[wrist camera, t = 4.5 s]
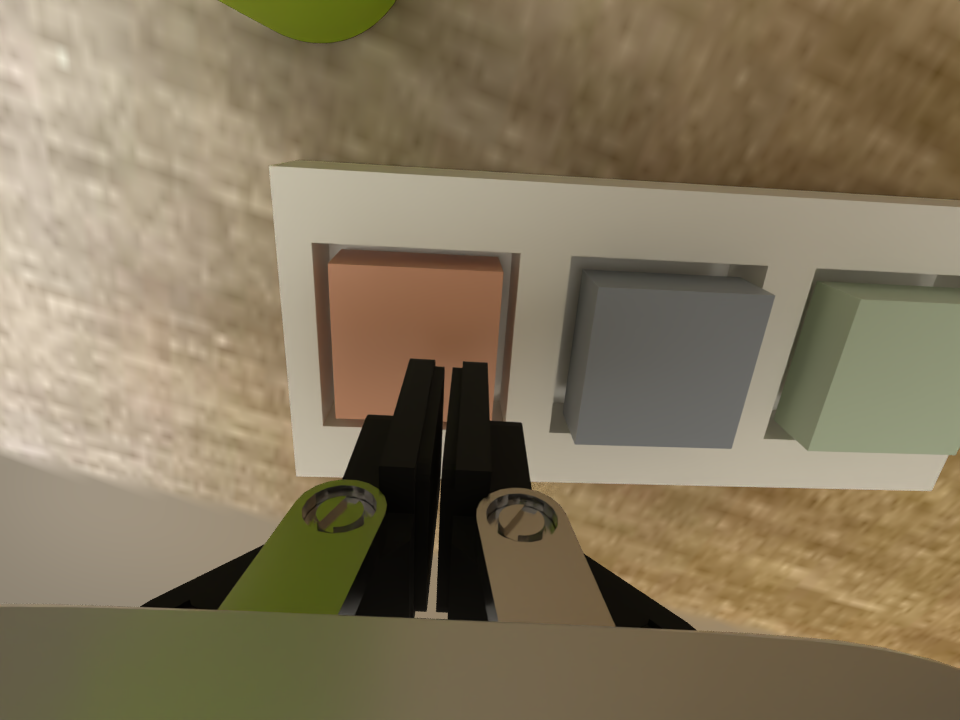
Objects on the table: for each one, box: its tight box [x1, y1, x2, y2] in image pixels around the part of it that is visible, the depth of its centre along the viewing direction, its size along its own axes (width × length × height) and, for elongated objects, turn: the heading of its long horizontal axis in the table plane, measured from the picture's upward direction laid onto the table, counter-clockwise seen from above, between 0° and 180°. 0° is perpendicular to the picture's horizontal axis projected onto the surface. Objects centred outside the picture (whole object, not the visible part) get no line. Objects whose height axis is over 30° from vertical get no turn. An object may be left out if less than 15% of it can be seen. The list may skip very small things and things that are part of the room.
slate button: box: [563, 269, 775, 449], centre depth 17 cm, size 5×5×2 cm
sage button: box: [773, 281, 960, 455], centre depth 17 cm, size 5×5×2 cm
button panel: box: [269, 160, 960, 491], centre depth 19 cm, size 23×10×3 cm, turn 86°
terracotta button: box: [328, 249, 504, 422], centre depth 17 cm, size 5×5×2 cm
